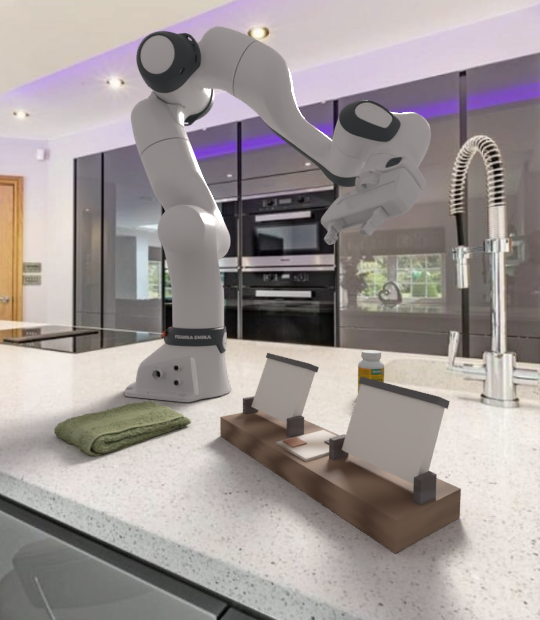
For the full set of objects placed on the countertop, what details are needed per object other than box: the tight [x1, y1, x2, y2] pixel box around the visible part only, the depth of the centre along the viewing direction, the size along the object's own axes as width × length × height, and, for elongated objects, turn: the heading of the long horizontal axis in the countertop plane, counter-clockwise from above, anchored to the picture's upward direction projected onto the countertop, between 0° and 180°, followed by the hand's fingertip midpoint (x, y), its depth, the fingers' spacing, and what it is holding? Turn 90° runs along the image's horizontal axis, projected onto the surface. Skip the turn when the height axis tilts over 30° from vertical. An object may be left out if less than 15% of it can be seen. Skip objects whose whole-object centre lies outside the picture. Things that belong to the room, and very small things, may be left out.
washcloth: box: [53, 400, 192, 457], centre depth 65 cm, size 13×18×3 cm
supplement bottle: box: [357, 349, 385, 393], centre depth 85 cm, size 5×5×10 cm
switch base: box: [219, 395, 462, 554], centre depth 52 cm, size 33×10×5 cm, turn 34°
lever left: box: [251, 352, 319, 424], centre depth 61 cm, size 10×2×9 cm, turn 34°
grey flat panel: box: [342, 377, 450, 484], centre depth 44 cm, size 10×2×9 cm, turn 34°
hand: (345, 237), depth 71 cm, fingers open, 8 cm apart
